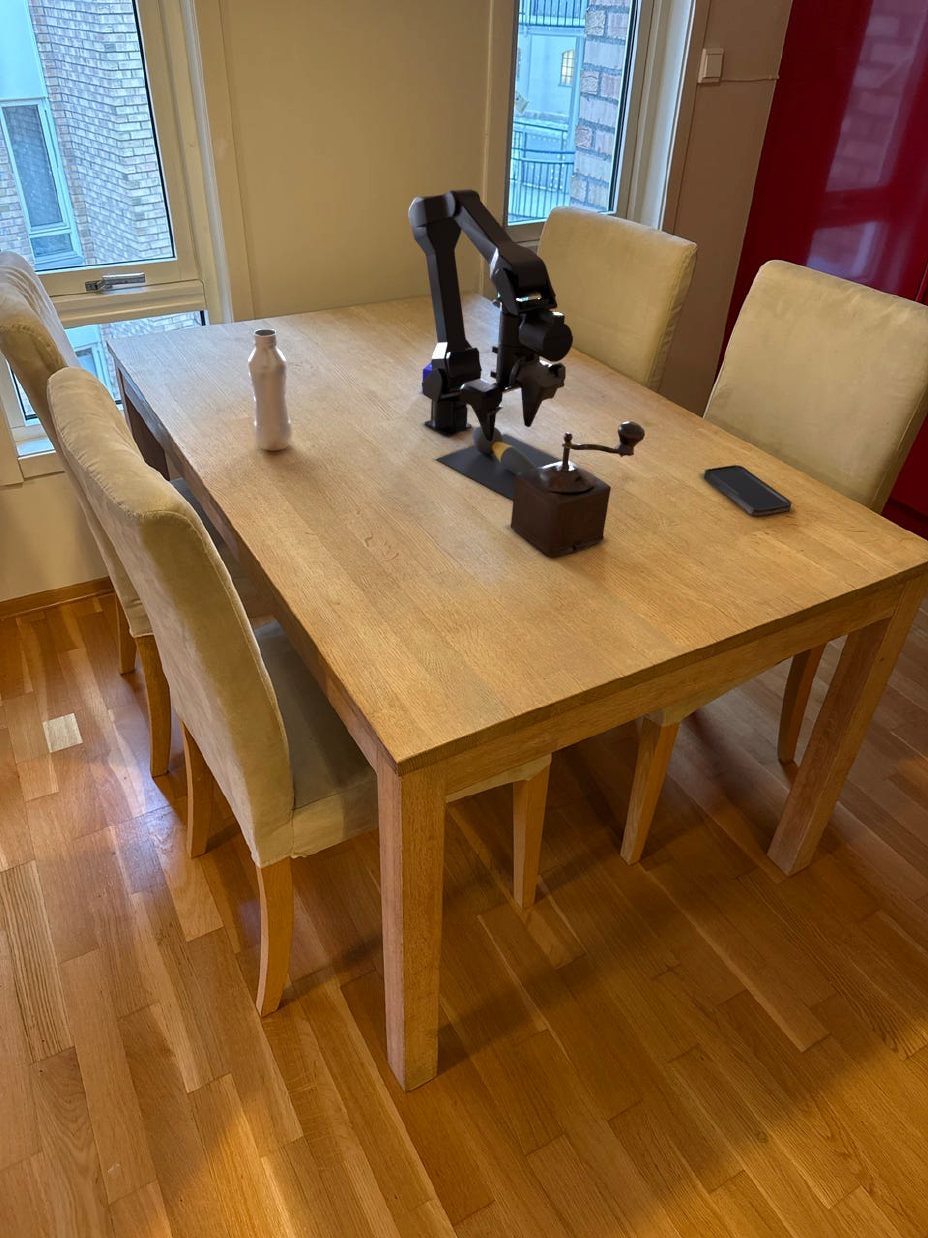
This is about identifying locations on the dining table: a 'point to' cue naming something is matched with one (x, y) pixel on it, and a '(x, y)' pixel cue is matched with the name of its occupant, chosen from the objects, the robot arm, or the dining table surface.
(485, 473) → the mat
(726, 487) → the phone
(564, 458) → the manual coffee grinder
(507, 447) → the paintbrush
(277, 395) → the plastic bottle
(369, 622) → the dining table surface
